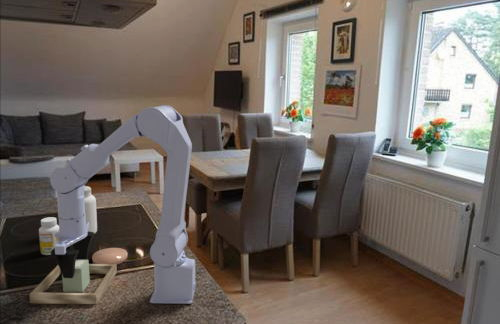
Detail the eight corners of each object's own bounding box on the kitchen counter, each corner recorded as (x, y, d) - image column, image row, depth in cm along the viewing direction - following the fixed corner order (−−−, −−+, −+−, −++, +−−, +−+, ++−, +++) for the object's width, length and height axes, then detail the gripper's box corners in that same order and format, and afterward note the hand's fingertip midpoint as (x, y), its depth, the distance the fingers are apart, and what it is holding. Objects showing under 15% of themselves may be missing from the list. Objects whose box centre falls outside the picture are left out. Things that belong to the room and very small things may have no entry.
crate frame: (116, 272, 101) (116, 264, 101) (96, 304, 87) (96, 295, 86) (59, 271, 101) (59, 263, 100) (30, 303, 86) (29, 294, 86)
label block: (89, 282, 96) (88, 259, 95) (82, 291, 92) (81, 268, 90) (71, 281, 96) (69, 259, 94) (63, 291, 91) (61, 267, 90)
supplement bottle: (56, 245, 115) (53, 214, 113) (65, 251, 112) (62, 219, 110) (37, 251, 111) (34, 219, 109) (45, 257, 108) (42, 224, 106)
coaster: (130, 251, 113) (130, 248, 113) (121, 266, 104) (121, 262, 104) (99, 251, 113) (99, 247, 112) (87, 265, 104) (87, 261, 104)
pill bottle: (93, 237, 122) (90, 191, 119) (66, 237, 121) (63, 191, 118) (100, 228, 130) (98, 184, 127) (76, 228, 129) (73, 184, 126)
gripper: (68, 205, 97) (71, 255, 100) (38, 226, 83) (43, 284, 85) (96, 205, 97) (99, 256, 100) (72, 227, 83) (75, 285, 86)
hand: (75, 269), depth 93 cm, fingers open, 7 cm apart
